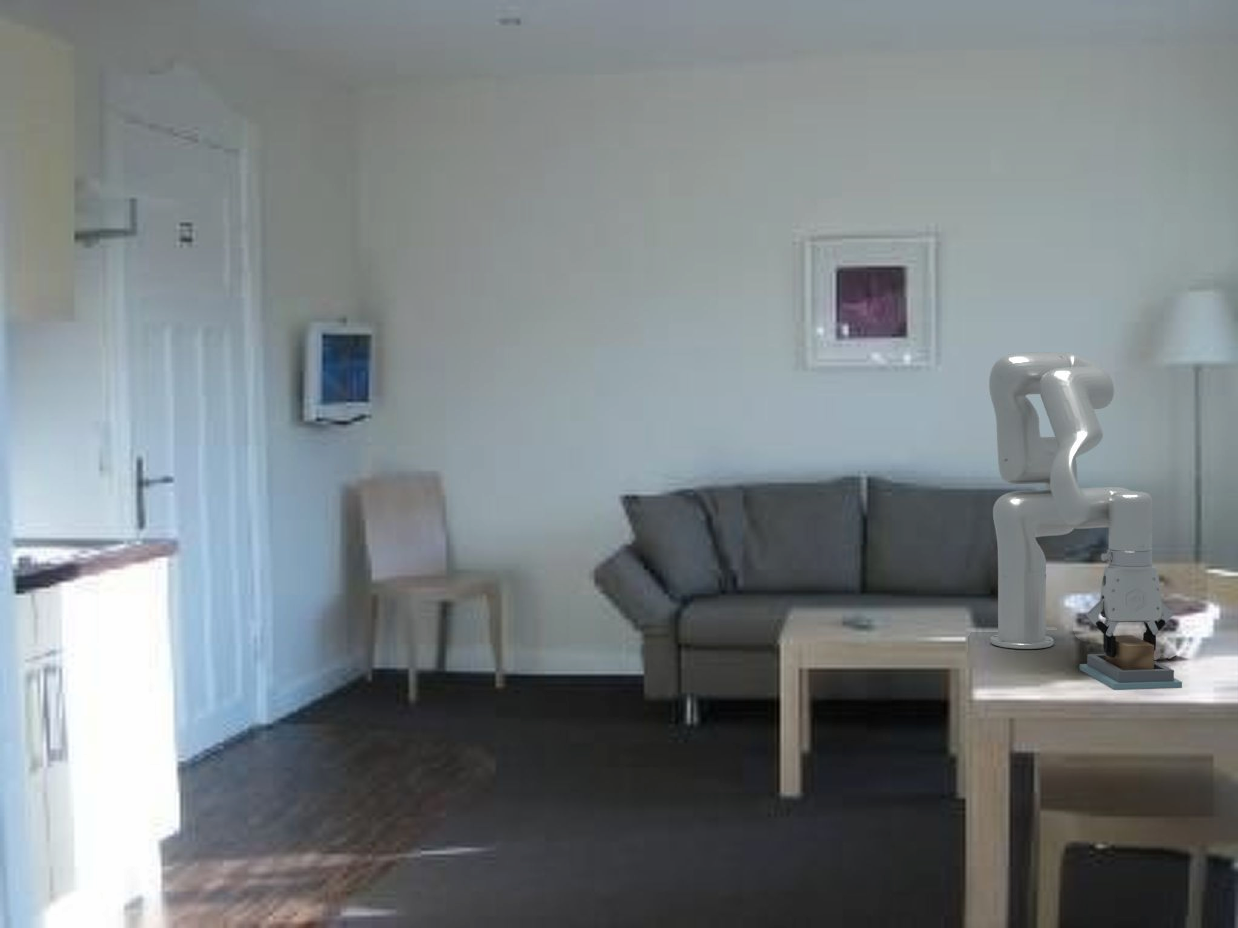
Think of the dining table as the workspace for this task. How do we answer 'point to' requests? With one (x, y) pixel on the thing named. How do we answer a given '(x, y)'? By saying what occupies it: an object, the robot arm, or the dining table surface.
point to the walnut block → (1132, 654)
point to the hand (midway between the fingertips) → (1129, 654)
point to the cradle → (1129, 675)
